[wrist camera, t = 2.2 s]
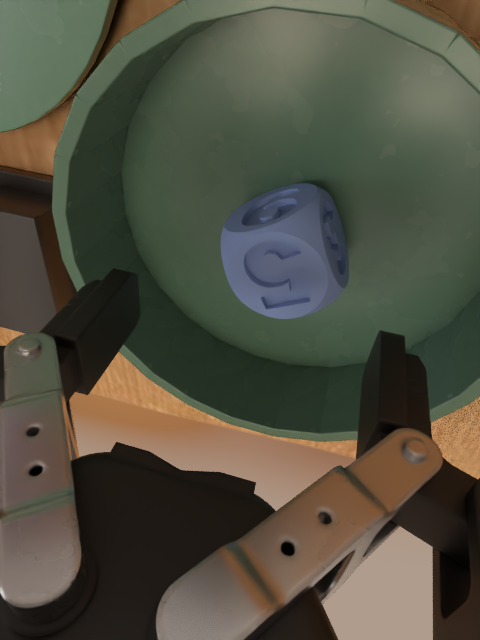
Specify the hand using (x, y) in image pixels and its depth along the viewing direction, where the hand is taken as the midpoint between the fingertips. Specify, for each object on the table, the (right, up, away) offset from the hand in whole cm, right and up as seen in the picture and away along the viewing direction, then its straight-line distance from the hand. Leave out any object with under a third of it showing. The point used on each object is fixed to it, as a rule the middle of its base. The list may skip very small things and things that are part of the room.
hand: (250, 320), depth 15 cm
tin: (+2, +4, +5) cm, 7 cm away
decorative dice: (+2, +4, +5) cm, 7 cm away
